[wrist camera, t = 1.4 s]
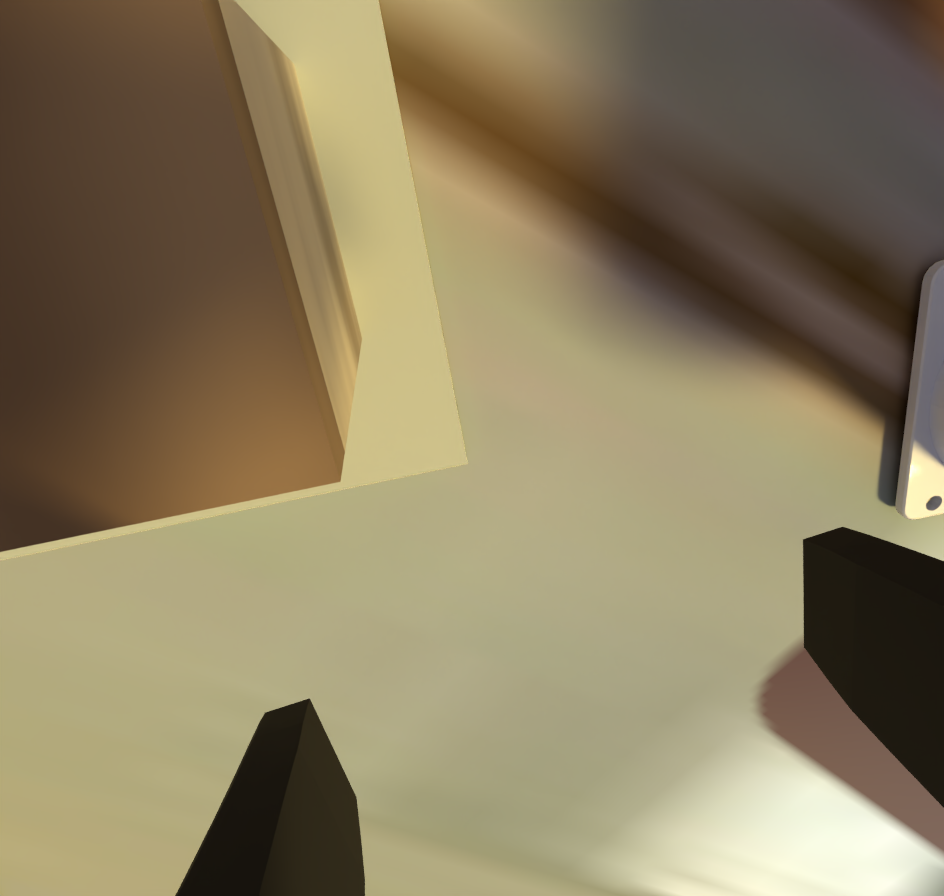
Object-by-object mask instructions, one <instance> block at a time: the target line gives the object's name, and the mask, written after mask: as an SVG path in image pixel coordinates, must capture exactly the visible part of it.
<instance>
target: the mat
mask: <svg viewBox="0 0 944 896" xmlns="http://www.w3.org/2000/svg"><path fill="white" fill-rule="evenodd" d="M234 1H235V2H236V3H237V4H238V5H239V6H240V7H241V8H242V9H243V10H244V11H245V12H246V13H247V14H248V15H249V16H250V18H251V19H252V20H253V21H254V22H255V23H256V24H257V25H258V26H259V27H260V28H261V29H262V30H263V31H264V32H265V34H266V35H267V36H268V37H269V38H270V39H271V40H272V41H273V42H274V43H275V44H276V45H277V46H278V47H279V48H280V50H281V51H282V52H283V53H284V54H285V55H286V56H287V57H288V58H289V59H290V60H291V61H292V62H293V63H294V65H295V69H296V73H297V77H298V81H299V85H300V89H301V93H302V98H303V102H304V106H305V110H306V114H307V118H308V122H309V126H310V130H311V134H312V138H313V142H314V146H315V150H316V154H317V158H318V162H319V166H320V170H321V174H322V178H323V182H324V186H325V190H326V194H327V198H328V203H329V207H330V211H331V215H332V219H333V223H334V227H335V231H336V235H337V239H338V243H339V247H340V251H341V255H342V259H343V263H344V267H345V271H346V275H347V279H348V283H349V287H350V291H351V295H352V299H353V303H354V308H355V312H356V316H357V320H358V324H359V328H360V332H361V336H362V343H361V349H360V356H359V363H358V369H357V376H356V383H355V389H354V396H353V402H352V409H351V416H350V422H349V429H348V436H347V442H346V449H345V455H344V462H343V469H342V475H341V482H337V483H332V484H327V485H323V486H318V487H313V488H308V489H303V490H298V491H293V492H289V493H284V494H279V495H274V496H269V497H264V498H260V499H255V500H250V501H245V502H240V503H235V504H231V505H226V506H221V507H216V508H211V509H206V510H201V511H197V512H192V513H187V514H182V515H177V516H172V517H168V518H163V519H158V520H153V521H148V522H143V523H139V524H134V525H129V526H124V527H119V528H114V529H110V530H105V531H100V532H95V533H90V534H85V535H80V536H76V537H71V538H66V539H61V540H56V541H51V542H47V543H42V544H37V545H32V546H27V547H22V548H18V549H13V550H8V551H3V552H0V561H1V560H6V559H11V558H16V557H20V556H25V555H30V554H35V553H40V552H45V551H49V550H54V549H59V548H64V547H69V546H74V545H78V544H83V543H88V542H93V541H98V540H103V539H107V538H112V537H117V536H122V535H127V534H131V533H136V532H141V531H146V530H151V529H156V528H160V527H165V526H170V525H175V524H180V523H185V522H189V521H194V520H199V519H204V518H209V517H214V516H218V515H223V514H228V513H233V512H238V511H243V510H247V509H252V508H257V507H262V506H267V505H272V504H276V503H281V502H286V501H291V500H296V499H300V498H305V497H310V496H315V495H320V494H325V493H329V492H334V491H339V490H344V489H349V488H354V487H358V486H363V485H368V484H373V483H378V482H383V481H387V480H392V479H397V478H402V477H407V476H412V475H416V474H421V473H426V472H431V471H436V470H441V469H445V468H450V467H455V466H460V465H465V464H468V462H467V456H466V451H465V446H464V441H463V436H462V430H461V425H460V420H459V415H458V410H457V405H456V399H455V394H454V389H453V384H452V379H451V374H450V368H449V363H448V358H447V353H446V348H445V342H444V337H443V332H442V327H441V322H440V317H439V311H438V306H437V301H436V296H435V291H434V286H433V280H432V275H431V270H430V265H429V260H428V254H427V249H426V244H425V239H424V234H423V229H422V223H421V218H420V213H419V208H418V203H417V198H416V192H415V187H414V182H413V177H412V172H411V166H410V161H409V156H408V151H407V146H406V141H405V135H404V130H403V125H402V120H401V115H400V110H399V104H398V99H397V94H396V89H395V84H394V79H393V73H392V68H391V63H390V58H389V53H388V47H387V42H386V37H385V32H384V27H383V22H382V16H381V11H380V6H379V1H378V0H234Z"/></svg>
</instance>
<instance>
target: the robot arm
mask: <svg viewBox="0 0 944 896" xmlns="http://www.w3.org/2000/svg"><path fill="white" fill-rule="evenodd" d="M931 497H932V498H931ZM930 498H931V500H930V501H929V502H928V503H927V501H928V500H929V499H930ZM895 506H896V510H897V512H898V513H899V514H901V515H902V516H904V517H905V518H907V519H910V520H911V519H920V518H924V517H929V516H933V515H938V514H943V513H944V260H941V261H938V262H936V263H935V264H933V265H932V266H931V267H930V268H929V269H928V270H927V272H926V273H925V275H924V278H923V282H922V289H921V298H920V306H919V314H918V322H917V330H916V339H915V347H914V355H913V363H912V372H911V380H910V388H909V396H908V405H907V413H906V421H905V429H904V437H903V446H902V454H901V462H900V470H899V479H898V487H897V495H896V503H895ZM803 574H804V648H805V649H806V650H807V651H808V653H809V654H810V656H811V657H812V659H813V660H814V661H815V663H816V664H817V665H818V667H819V668H820V669H821V671H822V672H823V674H824V675H825V676H826V678H827V679H828V680H829V682H830V683H831V684H832V686H833V687H834V688H835V690H836V691H837V692H838V693H839V695H840V696H841V697H842V699H843V700H844V701H845V702H846V704H847V705H848V706H849V708H850V709H851V710H852V711H853V712H854V713H855V714H856V715H857V716H858V718H859V719H860V720H861V721H862V722H863V723H864V724H865V725H866V726H867V727H868V728H869V729H870V731H872V733H873V734H874V735H875V736H876V737H877V738H878V739H879V740H880V741H881V742H882V743H883V744H884V745H885V747H886V748H887V749H888V750H889V751H890V752H891V753H892V754H893V755H894V756H895V757H896V758H897V759H898V760H899V761H900V762H901V763H902V764H903V765H904V767H905V768H906V769H907V770H908V771H909V772H910V773H911V774H912V775H913V776H914V777H915V778H916V779H917V780H918V781H919V782H920V783H921V784H922V785H923V786H924V787H925V788H926V789H927V790H928V791H929V793H930V794H931V795H932V796H933V797H934V798H935V799H936V800H937V801H938V802H939V803H940V804H941V805H942V806H943V807H944V561H941V560H939V559H936V558H933V557H930V556H927V555H925V554H922V553H919V552H916V551H913V550H911V549H908V548H905V547H902V546H899V545H896V544H894V543H891V542H888V541H885V540H882V539H879V538H876V537H873V536H870V535H867V534H864V533H861V532H858V531H854V530H851V529H848V528H845V527H841V528H837V529H834V530H831V531H828V532H825V533H822V534H819V535H816V536H813V537H809V538H806V539H803ZM175 896H365V877H364V866H363V856H362V845H361V835H360V826H359V817H358V808H357V799H356V796H355V794H354V791H353V789H352V787H351V785H350V783H349V781H348V779H347V777H346V774H345V772H344V770H343V768H342V766H341V764H340V762H339V760H338V758H337V755H336V753H335V751H334V749H333V747H332V745H331V743H330V741H329V738H328V736H327V734H326V732H325V730H324V728H323V726H322V724H321V722H320V719H319V717H318V715H317V713H316V711H315V709H314V707H313V705H312V702H311V700H310V699H306V700H303V701H300V702H297V703H294V704H291V705H288V706H285V707H282V708H279V709H275V710H272V711H269V712H266V713H265V714H264V716H263V717H262V719H261V721H260V723H259V725H258V727H257V729H256V731H255V733H254V735H253V737H252V740H251V742H250V744H249V746H248V748H247V750H246V752H245V755H244V757H243V759H242V761H241V763H240V765H239V768H238V770H237V772H236V774H235V776H234V778H233V780H232V782H231V785H230V787H229V789H228V791H227V793H226V795H225V797H224V799H223V801H222V803H221V806H220V808H219V810H218V812H217V814H216V816H215V818H214V820H213V822H212V824H211V826H210V828H209V830H208V832H207V834H206V836H205V838H204V840H203V842H202V844H201V846H200V848H199V850H198V852H197V854H196V856H195V858H194V860H193V862H192V864H191V866H190V868H189V870H188V872H187V874H186V876H185V878H184V880H183V882H182V884H181V886H180V888H179V890H178V892H177V894H176V895H175Z"/></svg>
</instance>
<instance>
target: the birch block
mask: <svg viewBox="0 0 944 896" xmlns="http://www.w3.org/2000/svg"><path fill="white" fill-rule="evenodd" d="M361 343H362V336H361V332H360V328H359V324H358V320H357V316H356V312H355V308H354V303H353V299H352V295H351V291H350V287H349V283H348V279H347V275H346V271H345V267H344V263H343V259H342V255H341V251H340V247H339V243H338V239H337V235H336V231H335V227H334V223H333V219H332V215H331V211H330V207H329V203H328V198H327V194H326V190H325V186H324V182H323V178H322V174H321V170H320V166H319V162H318V158H317V154H316V150H315V146H314V142H313V138H312V134H311V130H310V126H309V122H308V118H307V114H306V110H305V106H304V102H303V98H302V93H301V89H300V85H299V81H298V77H297V73H296V69H295V65H294V63H293V62H292V61H291V60H290V59H289V58H288V57H287V56H286V55H285V54H284V53H283V52H282V51H281V50H280V48H279V47H278V46H277V45H276V44H275V43H274V42H273V41H272V40H271V39H270V38H269V37H268V36H267V35H266V34H265V32H264V31H263V30H262V29H261V28H260V27H259V26H258V25H257V24H256V23H255V22H254V21H253V20H252V19H251V18H250V16H249V15H248V14H247V13H246V12H245V11H244V10H243V9H242V8H241V7H240V6H239V5H238V4H237V3H236V2H235V1H234V0H0V552H3V551H8V550H13V549H18V548H22V547H27V546H32V545H37V544H42V543H47V542H51V541H56V540H61V539H66V538H71V537H76V536H80V535H85V534H90V533H95V532H100V531H105V530H110V529H114V528H119V527H124V526H129V525H134V524H139V523H143V522H148V521H153V520H158V519H163V518H168V517H172V516H177V515H182V514H187V513H192V512H197V511H201V510H206V509H211V508H216V507H221V506H226V505H231V504H235V503H240V502H245V501H250V500H255V499H260V498H264V497H269V496H274V495H279V494H284V493H289V492H293V491H298V490H303V489H308V488H313V487H318V486H323V485H327V484H332V483H337V482H341V475H342V469H343V462H344V455H345V449H346V442H347V436H348V429H349V422H350V416H351V409H352V402H353V396H354V389H355V383H356V376H357V369H358V363H359V356H360V349H361Z"/></svg>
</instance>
